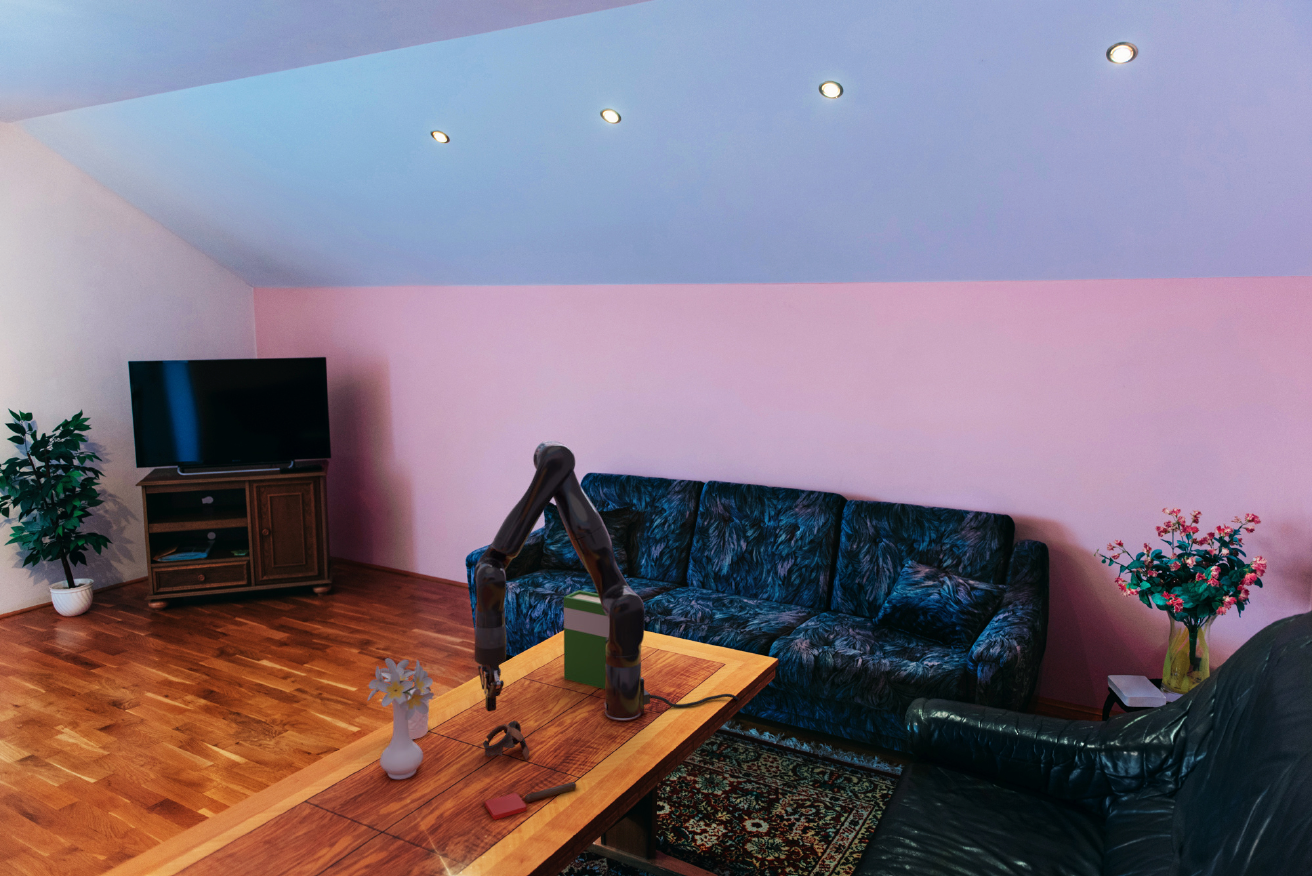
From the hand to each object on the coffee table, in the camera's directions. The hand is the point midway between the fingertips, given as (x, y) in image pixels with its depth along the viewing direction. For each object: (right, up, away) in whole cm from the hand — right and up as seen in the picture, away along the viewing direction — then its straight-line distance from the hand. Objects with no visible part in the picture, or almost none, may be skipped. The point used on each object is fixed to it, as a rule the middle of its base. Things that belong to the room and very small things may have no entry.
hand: (490, 709), depth 205 cm
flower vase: (-16, -8, -18) cm, 25 cm away
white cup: (-19, -6, 0) cm, 20 cm away
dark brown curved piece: (+6, -8, -10) cm, 14 cm away
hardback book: (+24, -2, +32) cm, 40 cm away
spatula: (+15, -10, -29) cm, 34 cm away
